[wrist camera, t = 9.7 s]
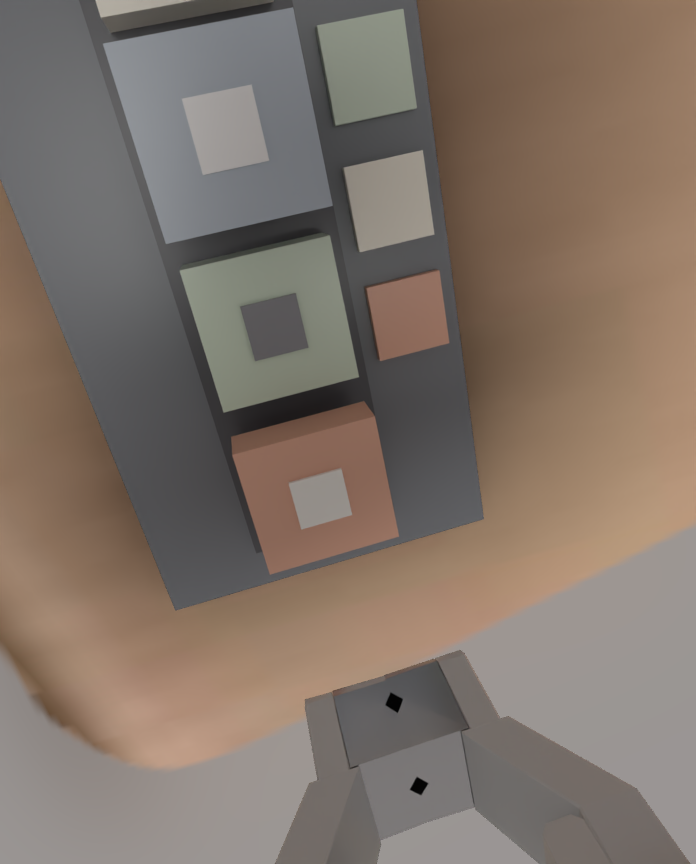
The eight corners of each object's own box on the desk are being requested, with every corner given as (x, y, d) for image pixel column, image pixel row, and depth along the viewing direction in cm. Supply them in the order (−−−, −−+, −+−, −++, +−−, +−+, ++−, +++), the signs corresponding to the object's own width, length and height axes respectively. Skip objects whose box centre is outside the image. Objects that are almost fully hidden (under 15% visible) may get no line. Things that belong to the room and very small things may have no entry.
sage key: (182, 265, 17) (179, 271, 16) (321, 232, 18) (330, 235, 16) (223, 398, 19) (223, 413, 18) (349, 365, 19) (359, 377, 18)
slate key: (112, 57, 14) (101, 42, 13) (286, 23, 14) (293, 5, 13) (169, 240, 16) (165, 244, 14) (323, 205, 16) (333, 206, 15)
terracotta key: (231, 436, 18) (232, 456, 17) (364, 401, 18) (375, 417, 17) (266, 550, 20) (269, 576, 18) (387, 514, 20) (399, 538, 19)
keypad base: (-163, -265, 13) (-207, -318, 12) (356, -332, 14) (371, -387, 13) (177, 590, 23) (175, 615, 21) (471, 504, 24) (486, 522, 23)
